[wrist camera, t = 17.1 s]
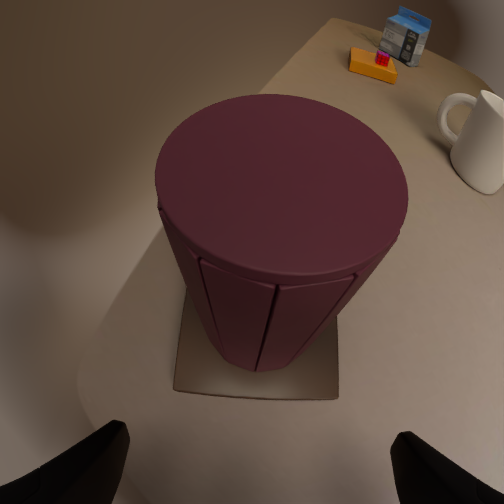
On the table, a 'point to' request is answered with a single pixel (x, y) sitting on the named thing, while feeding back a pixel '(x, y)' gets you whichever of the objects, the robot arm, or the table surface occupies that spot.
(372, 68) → the orange slab with cube
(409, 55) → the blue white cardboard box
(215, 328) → the maroon grooved cylinder
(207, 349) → the hat stand
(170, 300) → the table surface
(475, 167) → the mug
